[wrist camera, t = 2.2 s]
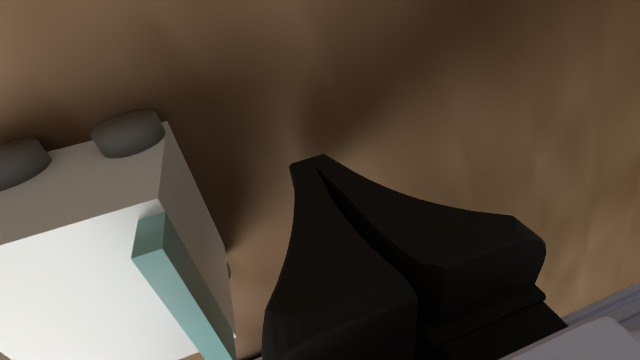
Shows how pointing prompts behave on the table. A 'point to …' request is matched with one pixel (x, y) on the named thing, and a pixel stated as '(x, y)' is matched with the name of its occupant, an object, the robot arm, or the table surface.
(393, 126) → the table surface
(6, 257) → the white box with knobs
